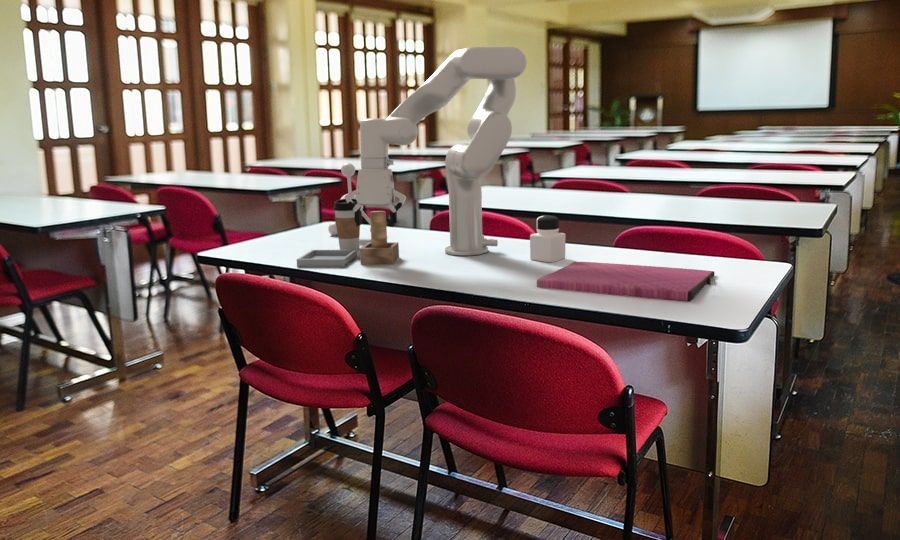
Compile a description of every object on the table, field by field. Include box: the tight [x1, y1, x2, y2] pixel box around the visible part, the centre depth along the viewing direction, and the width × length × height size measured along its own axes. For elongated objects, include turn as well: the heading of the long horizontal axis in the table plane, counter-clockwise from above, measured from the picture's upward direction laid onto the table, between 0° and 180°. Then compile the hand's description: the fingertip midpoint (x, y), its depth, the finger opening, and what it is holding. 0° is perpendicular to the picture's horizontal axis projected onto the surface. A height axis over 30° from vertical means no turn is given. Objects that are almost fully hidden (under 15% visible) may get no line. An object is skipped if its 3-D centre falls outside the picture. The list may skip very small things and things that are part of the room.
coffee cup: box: [333, 198, 361, 250], centre depth 236 cm, size 8×8×15 cm
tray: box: [296, 249, 358, 268], centre depth 219 cm, size 14×14×2 cm
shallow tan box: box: [359, 241, 400, 265], centre depth 218 cm, size 9×9×4 cm
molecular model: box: [327, 162, 371, 236], centre depth 252 cm, size 18×20×25 cm
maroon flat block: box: [536, 261, 716, 303], centre depth 186 cm, size 40×4×27 cm
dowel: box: [369, 210, 388, 248], centre depth 217 cm, size 4×4×14 cm
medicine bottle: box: [529, 215, 566, 263], centre depth 213 cm, size 7×7×12 cm
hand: (375, 225), depth 216 cm, fingers open, 9 cm apart
